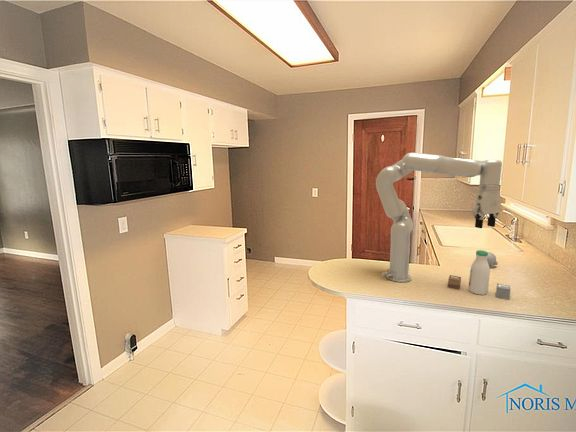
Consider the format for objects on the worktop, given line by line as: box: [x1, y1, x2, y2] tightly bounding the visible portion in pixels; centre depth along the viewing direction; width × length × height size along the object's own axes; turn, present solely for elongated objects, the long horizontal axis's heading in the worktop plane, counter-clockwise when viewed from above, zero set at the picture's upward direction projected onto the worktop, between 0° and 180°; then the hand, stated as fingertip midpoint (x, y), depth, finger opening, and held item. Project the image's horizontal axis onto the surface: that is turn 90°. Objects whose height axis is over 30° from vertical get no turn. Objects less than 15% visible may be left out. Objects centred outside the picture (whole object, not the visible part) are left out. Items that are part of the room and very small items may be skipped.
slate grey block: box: [495, 282, 511, 301], centre depth 137 cm, size 5×5×5 cm
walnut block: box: [447, 274, 462, 291], centre depth 148 cm, size 5×5×5 cm
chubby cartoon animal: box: [487, 251, 499, 269], centre depth 174 cm, size 7×12×8 cm, turn 109°
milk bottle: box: [468, 249, 491, 296], centre depth 141 cm, size 8×8×20 cm
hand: (484, 226), depth 137 cm, fingers open, 6 cm apart
